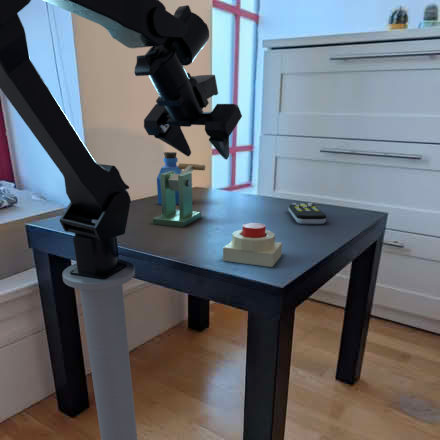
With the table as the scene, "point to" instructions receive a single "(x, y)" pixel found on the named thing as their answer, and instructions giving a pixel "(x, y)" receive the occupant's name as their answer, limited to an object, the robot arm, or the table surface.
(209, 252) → the table surface
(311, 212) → the remote control
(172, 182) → the lever
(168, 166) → the perfume bottle
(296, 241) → the table surface
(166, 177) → the bracket
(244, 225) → the button
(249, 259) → the control box
